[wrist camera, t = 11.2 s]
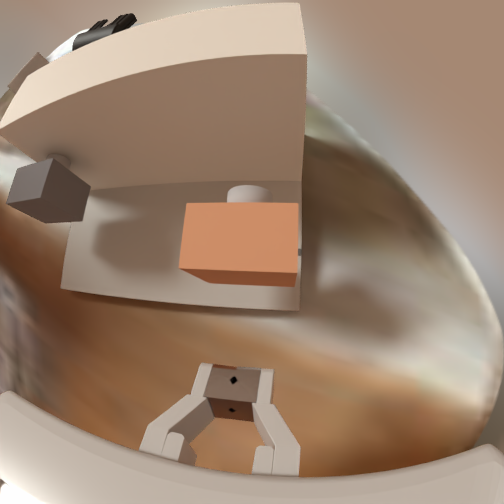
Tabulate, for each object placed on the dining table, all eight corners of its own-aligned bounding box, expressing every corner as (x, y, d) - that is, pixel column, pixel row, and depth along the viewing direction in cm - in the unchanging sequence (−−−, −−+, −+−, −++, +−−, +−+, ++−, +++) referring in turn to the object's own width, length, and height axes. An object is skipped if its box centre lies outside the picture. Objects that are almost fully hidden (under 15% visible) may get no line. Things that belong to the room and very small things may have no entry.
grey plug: (82, 221, 19) (40, 197, 14) (45, 223, 20) (6, 203, 15) (95, 170, 20) (60, 139, 15) (57, 177, 21) (23, 152, 16)
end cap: (84, 71, 34) (66, 46, 27) (107, 45, 35) (92, 20, 28) (124, 65, 32) (105, 35, 25) (148, 38, 33) (134, 9, 27)
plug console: (298, 311, 21) (318, 295, 8) (70, 290, 24) (-45, 260, 10) (299, 133, 25) (299, 2, 11) (100, 150, 28) (27, 75, 14)
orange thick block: (294, 287, 16) (297, 272, 11) (209, 283, 17) (178, 268, 12) (296, 212, 17) (298, 172, 12) (215, 212, 18) (191, 174, 13)
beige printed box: (72, 89, 33) (41, 52, 23) (45, 121, 32) (9, 87, 22) (64, 86, 34) (34, 52, 24) (39, 116, 33) (5, 85, 23)
